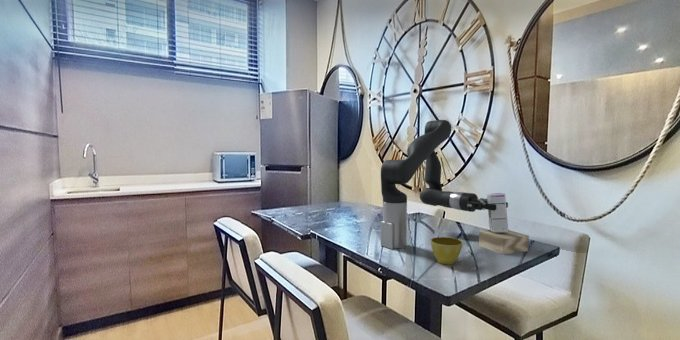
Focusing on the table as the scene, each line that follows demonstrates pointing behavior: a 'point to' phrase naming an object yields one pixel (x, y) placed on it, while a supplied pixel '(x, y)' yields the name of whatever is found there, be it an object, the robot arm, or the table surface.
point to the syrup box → (498, 213)
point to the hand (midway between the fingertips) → (501, 206)
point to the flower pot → (446, 249)
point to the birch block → (504, 241)
